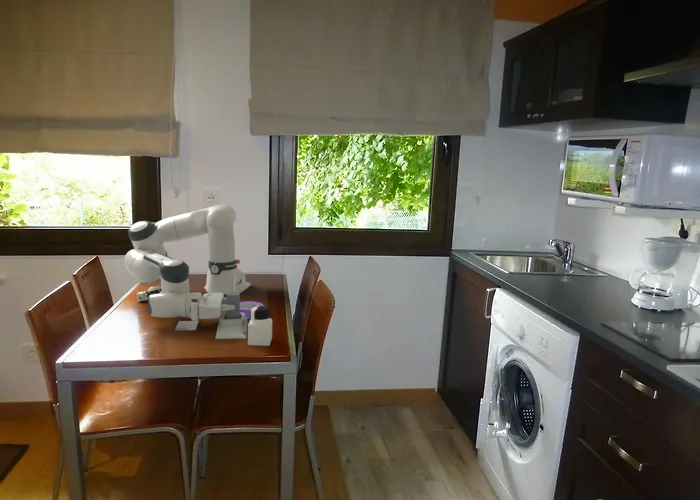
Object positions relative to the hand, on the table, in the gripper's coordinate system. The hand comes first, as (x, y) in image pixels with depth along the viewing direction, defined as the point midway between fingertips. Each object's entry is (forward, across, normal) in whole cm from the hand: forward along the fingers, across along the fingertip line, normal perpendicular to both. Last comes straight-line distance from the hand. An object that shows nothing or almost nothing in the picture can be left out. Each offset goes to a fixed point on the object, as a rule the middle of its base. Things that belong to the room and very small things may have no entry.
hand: (235, 304), depth 180 cm
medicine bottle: (+9, +17, -8) cm, 21 cm away
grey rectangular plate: (-17, 0, -8) cm, 19 cm away
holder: (-1, +4, -8) cm, 9 cm away
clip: (-1, 0, -7) cm, 7 cm away
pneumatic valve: (-41, -33, -7) cm, 53 cm away
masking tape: (+4, -13, -8) cm, 16 cm away
